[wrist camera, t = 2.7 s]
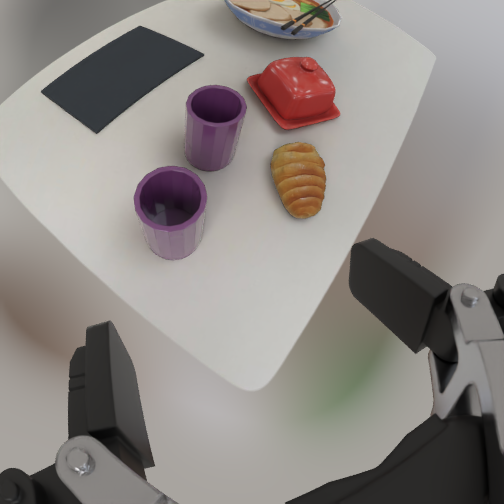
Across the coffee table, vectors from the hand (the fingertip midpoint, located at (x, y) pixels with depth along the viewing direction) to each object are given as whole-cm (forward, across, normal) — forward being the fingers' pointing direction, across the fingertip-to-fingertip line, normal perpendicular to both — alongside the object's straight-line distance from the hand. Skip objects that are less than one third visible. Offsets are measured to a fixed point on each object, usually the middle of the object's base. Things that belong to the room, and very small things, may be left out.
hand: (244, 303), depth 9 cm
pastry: (+26, -16, +6) cm, 31 cm away
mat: (+45, +2, -13) cm, 47 cm away
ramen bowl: (+51, -28, -18) cm, 61 cm away
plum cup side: (+31, -7, +1) cm, 32 cm away
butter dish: (+36, -22, -3) cm, 42 cm away
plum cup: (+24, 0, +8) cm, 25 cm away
